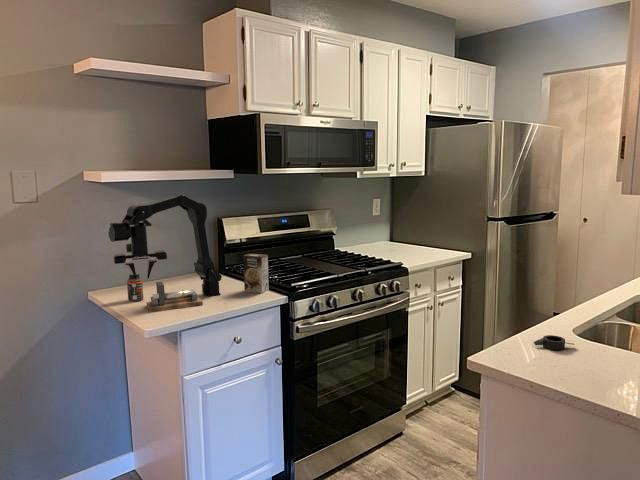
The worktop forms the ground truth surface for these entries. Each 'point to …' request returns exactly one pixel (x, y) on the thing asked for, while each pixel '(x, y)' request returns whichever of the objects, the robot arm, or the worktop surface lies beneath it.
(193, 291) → the pipe rig
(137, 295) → the supplement bottle
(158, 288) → the slotted grey bracket
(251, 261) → the coffee box
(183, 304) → the board
